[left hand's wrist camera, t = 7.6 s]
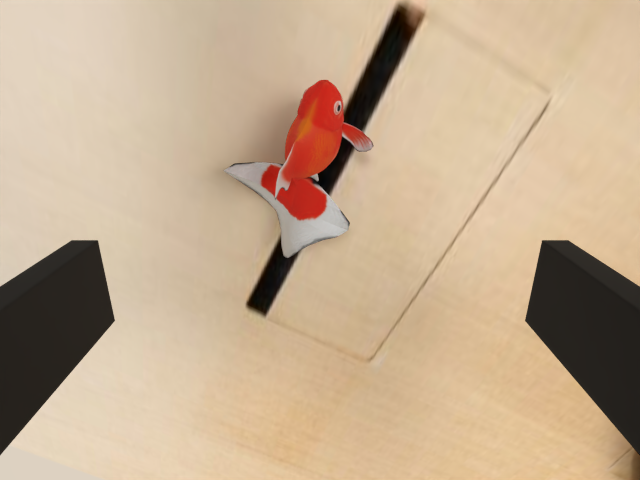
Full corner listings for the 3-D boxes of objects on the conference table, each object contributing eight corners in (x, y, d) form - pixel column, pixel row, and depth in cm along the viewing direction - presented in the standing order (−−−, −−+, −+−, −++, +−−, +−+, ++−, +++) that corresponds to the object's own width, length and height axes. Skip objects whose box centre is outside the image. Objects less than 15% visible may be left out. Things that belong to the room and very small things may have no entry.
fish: (433, 138, 32) (383, 183, 25) (335, 247, 43) (280, 301, 36) (334, 49, 33) (258, 68, 26) (262, 178, 44) (194, 217, 37)
